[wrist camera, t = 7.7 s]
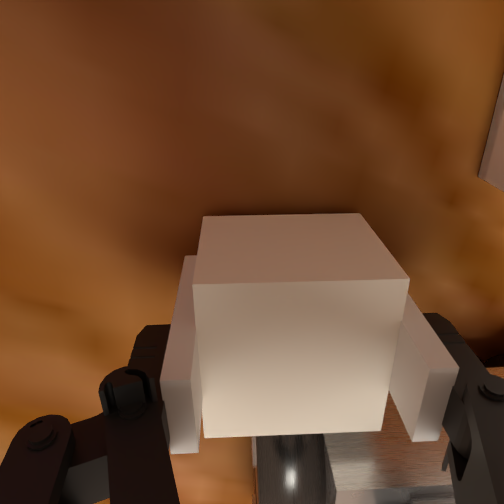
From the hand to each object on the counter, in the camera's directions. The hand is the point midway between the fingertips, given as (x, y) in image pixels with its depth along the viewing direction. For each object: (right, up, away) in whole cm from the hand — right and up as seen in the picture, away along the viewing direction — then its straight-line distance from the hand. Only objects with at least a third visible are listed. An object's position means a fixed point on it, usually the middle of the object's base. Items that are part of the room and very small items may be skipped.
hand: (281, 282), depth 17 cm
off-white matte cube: (0, 0, +1) cm, 1 cm away
